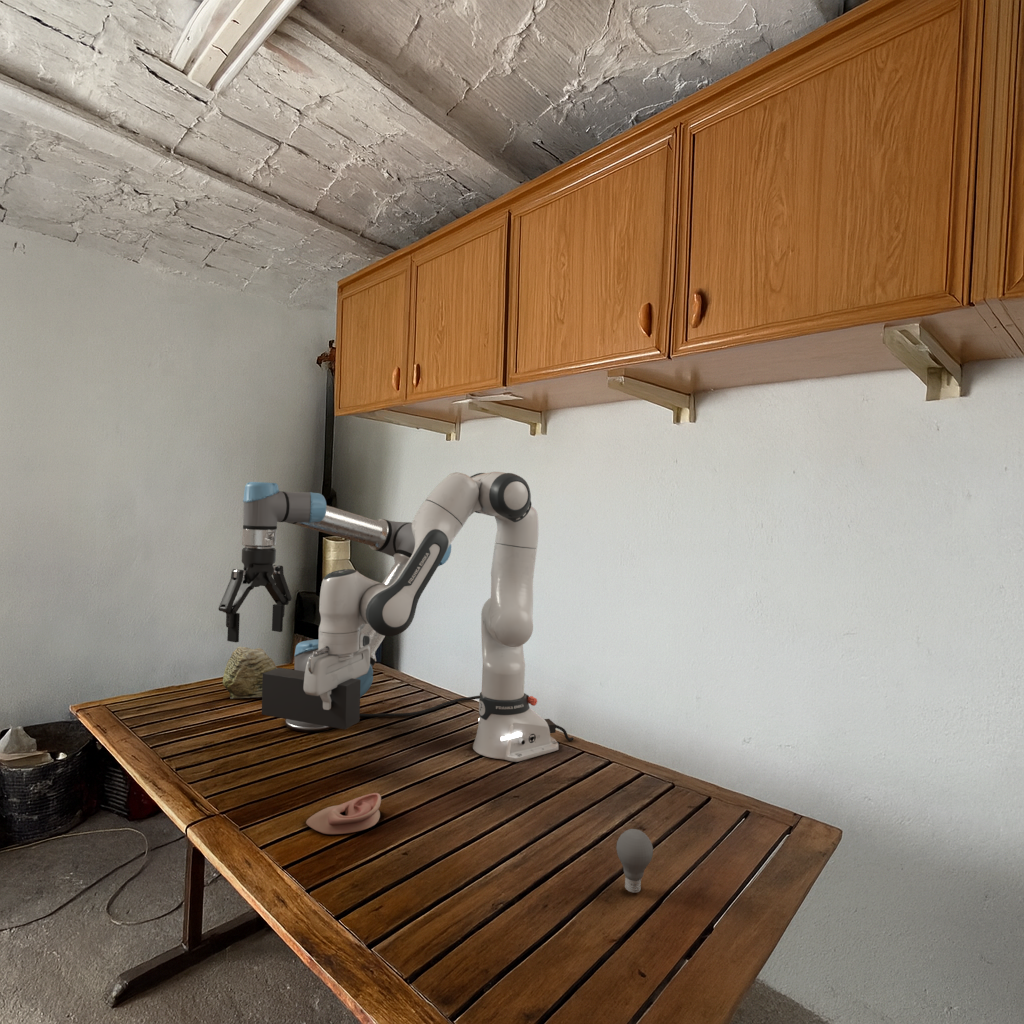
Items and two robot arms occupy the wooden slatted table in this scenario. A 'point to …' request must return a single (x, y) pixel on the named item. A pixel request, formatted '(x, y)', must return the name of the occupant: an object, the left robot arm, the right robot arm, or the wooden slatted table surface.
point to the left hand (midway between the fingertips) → (255, 636)
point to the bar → (309, 700)
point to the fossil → (246, 672)
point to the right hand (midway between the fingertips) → (337, 704)
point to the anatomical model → (347, 816)
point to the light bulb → (634, 857)
